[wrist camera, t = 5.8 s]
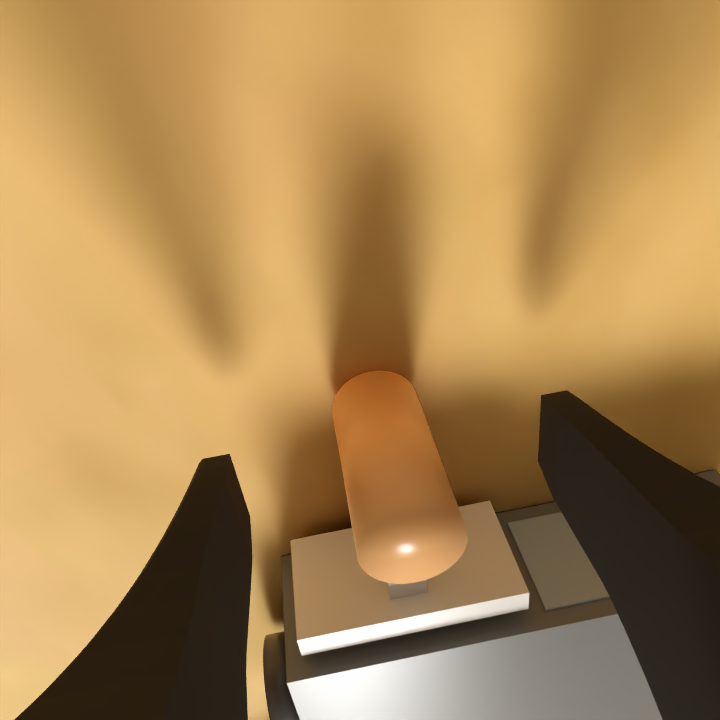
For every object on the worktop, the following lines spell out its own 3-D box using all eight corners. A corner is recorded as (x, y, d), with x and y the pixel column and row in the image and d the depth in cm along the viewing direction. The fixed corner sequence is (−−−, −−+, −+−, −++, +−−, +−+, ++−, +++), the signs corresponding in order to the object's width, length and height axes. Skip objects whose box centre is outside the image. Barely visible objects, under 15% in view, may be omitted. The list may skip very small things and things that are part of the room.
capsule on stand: (488, 347, 15) (565, 477, 12) (490, 516, 19) (549, 659, 15) (248, 391, 15) (247, 540, 11) (294, 555, 19) (305, 710, 15)
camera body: (716, 468, 20) (808, 572, 17) (679, 601, 24) (747, 707, 21) (247, 561, 19) (247, 689, 16) (290, 683, 23) (297, 806, 20)
